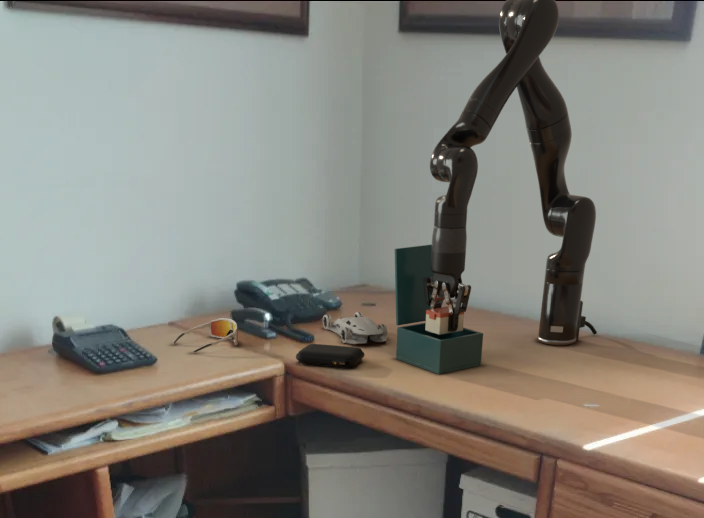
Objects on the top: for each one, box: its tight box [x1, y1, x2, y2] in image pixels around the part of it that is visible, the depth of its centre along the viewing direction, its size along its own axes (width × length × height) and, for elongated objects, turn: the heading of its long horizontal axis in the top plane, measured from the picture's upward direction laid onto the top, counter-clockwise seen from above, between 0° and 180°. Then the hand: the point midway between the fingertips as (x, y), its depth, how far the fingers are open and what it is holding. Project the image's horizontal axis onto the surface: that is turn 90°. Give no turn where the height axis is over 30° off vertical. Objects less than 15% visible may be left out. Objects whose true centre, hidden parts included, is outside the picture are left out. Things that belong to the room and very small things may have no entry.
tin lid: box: [394, 243, 438, 326], centre depth 217 cm, size 16×13×5 cm
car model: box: [322, 311, 388, 345], centre depth 238 cm, size 11×24×5 cm, turn 21°
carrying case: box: [295, 343, 366, 369], centre depth 217 cm, size 11×3×15 cm
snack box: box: [425, 305, 465, 335], centre depth 212 cm, size 8×5×4 cm, turn 125°
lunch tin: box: [395, 322, 484, 375], centre depth 216 cm, size 16×13×7 cm
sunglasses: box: [172, 317, 239, 354], centre depth 231 cm, size 14×15×5 cm
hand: (444, 328), depth 213 cm, fingers closed on snack box, 5 cm apart
